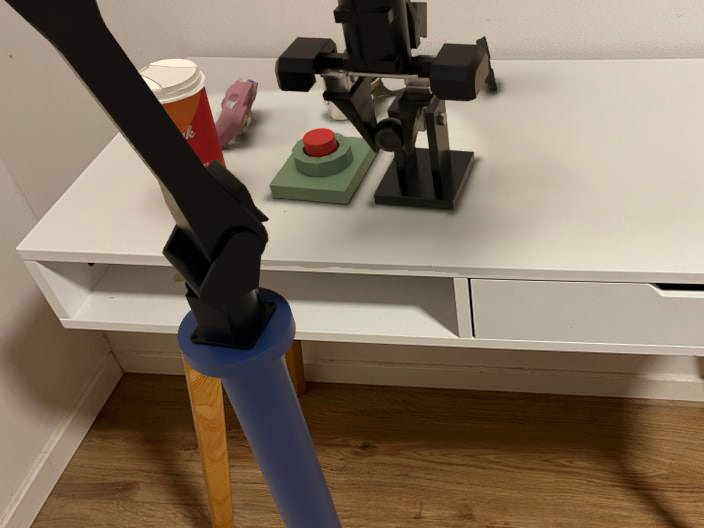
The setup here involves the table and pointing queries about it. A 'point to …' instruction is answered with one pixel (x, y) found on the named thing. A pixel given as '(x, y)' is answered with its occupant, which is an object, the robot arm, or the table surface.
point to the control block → (324, 172)
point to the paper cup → (186, 104)
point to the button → (320, 142)
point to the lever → (393, 133)
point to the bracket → (426, 167)
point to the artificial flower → (381, 90)
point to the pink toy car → (236, 110)
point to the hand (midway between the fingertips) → (394, 151)
